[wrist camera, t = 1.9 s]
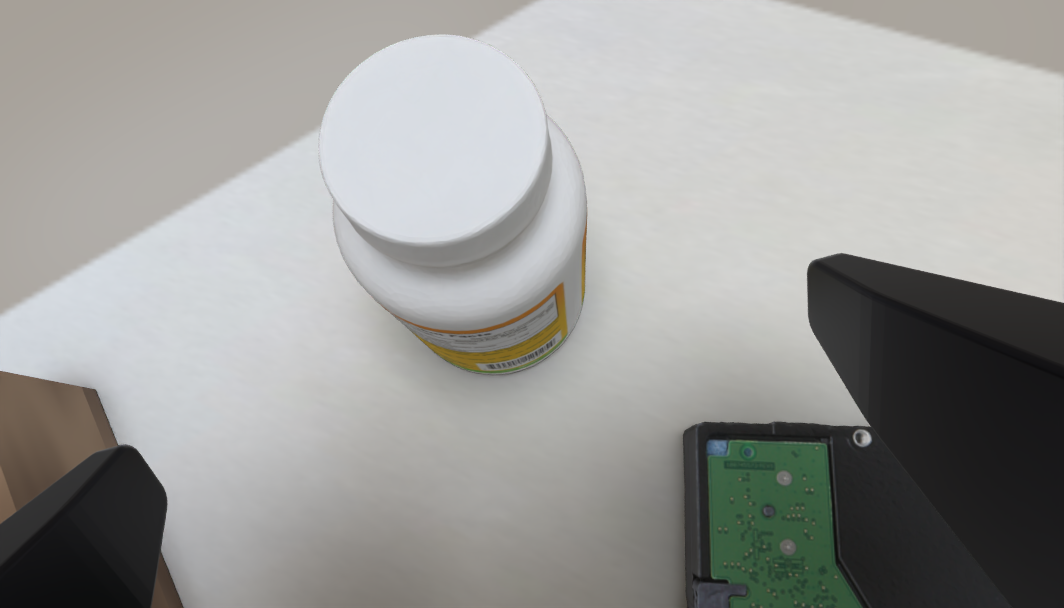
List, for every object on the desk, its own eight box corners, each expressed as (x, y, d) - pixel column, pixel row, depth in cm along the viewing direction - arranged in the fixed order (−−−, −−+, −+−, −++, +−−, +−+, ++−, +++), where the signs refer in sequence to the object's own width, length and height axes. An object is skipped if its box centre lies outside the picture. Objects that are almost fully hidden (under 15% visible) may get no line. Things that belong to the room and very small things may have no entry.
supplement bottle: (463, 181, 22) (377, -46, 13) (615, 252, 21) (645, 65, 12) (377, 327, 21) (213, 200, 11) (533, 409, 20) (493, 343, 11)
